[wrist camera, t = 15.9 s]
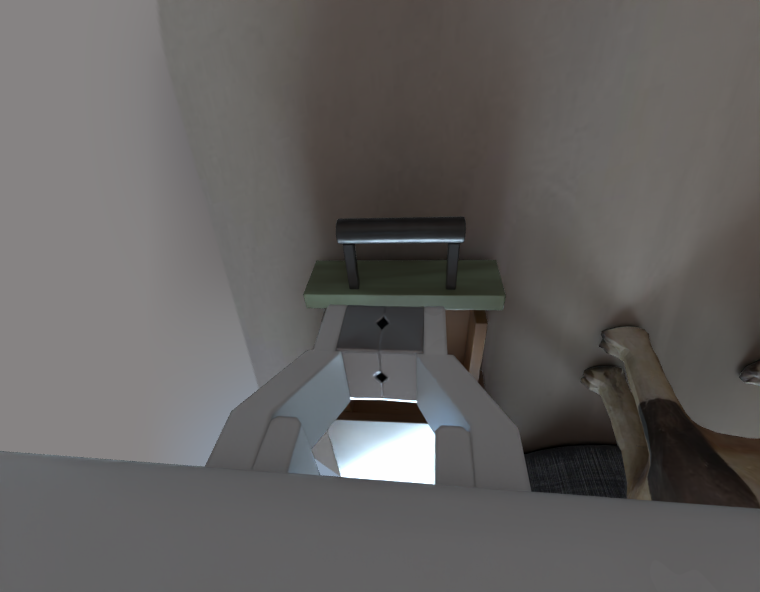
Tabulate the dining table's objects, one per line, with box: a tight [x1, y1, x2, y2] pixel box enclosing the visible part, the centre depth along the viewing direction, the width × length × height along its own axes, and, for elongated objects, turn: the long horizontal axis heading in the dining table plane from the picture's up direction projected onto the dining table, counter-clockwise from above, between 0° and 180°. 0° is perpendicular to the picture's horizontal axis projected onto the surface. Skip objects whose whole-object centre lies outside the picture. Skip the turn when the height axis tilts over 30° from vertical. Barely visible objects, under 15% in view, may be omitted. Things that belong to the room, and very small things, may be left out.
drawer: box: [303, 217, 506, 415], centre depth 27 cm, size 19×12×4 cm, turn 4°
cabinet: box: [327, 370, 485, 484], centre depth 37 cm, size 16×14×6 cm
